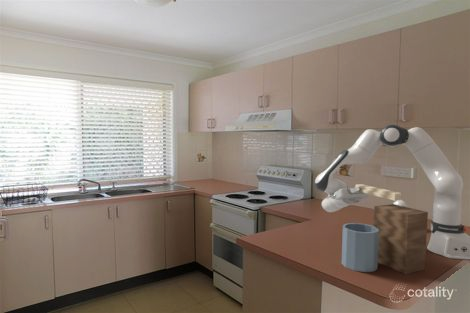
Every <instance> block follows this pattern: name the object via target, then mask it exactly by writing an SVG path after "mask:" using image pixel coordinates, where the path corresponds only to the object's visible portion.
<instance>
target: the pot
mask: <svg viewBox="0 0 470 313" xmlns="http://www.w3.org/2000/svg"><path fill="white" fill-rule="evenodd" d="M341 234H342V236H341V237H342V238H341V239H342V240H341V241H342V242H341V265H342V266H344V267H345V268H346V269H349V270H352V271H355V272H361V273H371V272H375V271H377V270H378V266H379V265H378V263H379V262H378V242H379V230H378V228H376V227H374V225H370V224H366V223H359V222H357V223H356V222H350V223H344V224H342V233H341Z"/></svg>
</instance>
